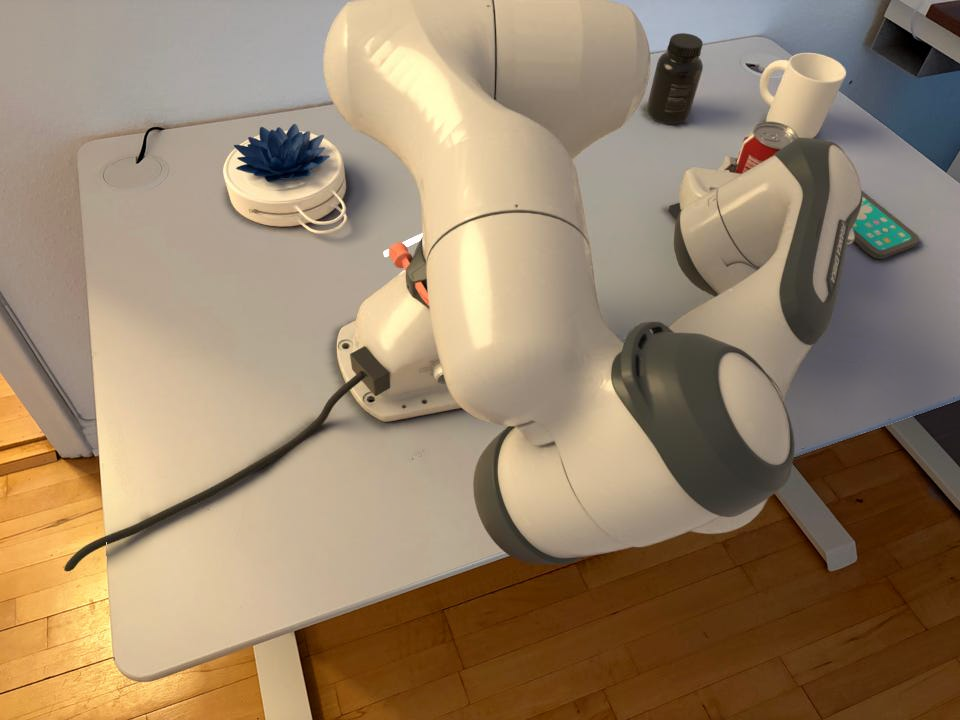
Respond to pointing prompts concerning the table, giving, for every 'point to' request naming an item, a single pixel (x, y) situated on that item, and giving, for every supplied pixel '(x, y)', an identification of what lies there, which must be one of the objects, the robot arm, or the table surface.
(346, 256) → the table surface
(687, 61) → the supplement bottle
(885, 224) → the smartphone
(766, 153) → the soda can
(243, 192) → the lotus gift box
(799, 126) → the mug
